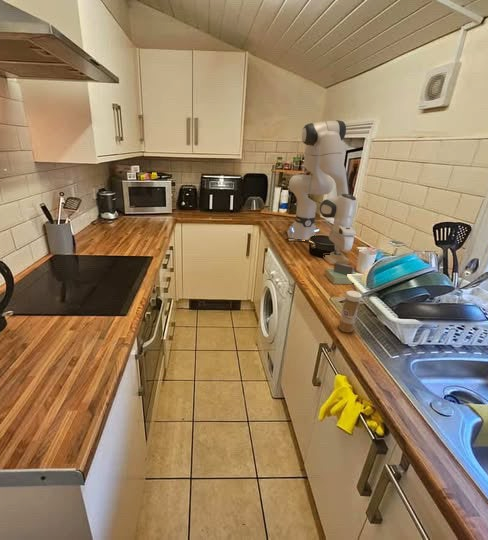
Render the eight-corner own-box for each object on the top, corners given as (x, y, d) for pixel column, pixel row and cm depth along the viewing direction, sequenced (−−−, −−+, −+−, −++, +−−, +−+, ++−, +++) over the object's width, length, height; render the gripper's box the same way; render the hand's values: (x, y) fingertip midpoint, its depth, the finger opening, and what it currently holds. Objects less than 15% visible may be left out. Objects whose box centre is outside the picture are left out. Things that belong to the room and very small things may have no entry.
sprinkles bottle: (336, 329, 99) (344, 293, 94) (341, 323, 103) (349, 288, 97) (350, 334, 97) (359, 298, 91) (354, 329, 100) (364, 293, 95)
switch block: (322, 257, 162) (324, 250, 161) (340, 257, 163) (342, 250, 161) (330, 264, 153) (331, 257, 152) (349, 264, 154) (350, 257, 152)
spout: (333, 271, 137) (335, 262, 135) (335, 270, 139) (336, 261, 137) (350, 276, 132) (353, 267, 131) (352, 275, 134) (354, 266, 132)
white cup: (374, 275, 142) (379, 255, 138) (356, 273, 143) (361, 253, 139) (369, 268, 149) (374, 250, 145) (352, 267, 150) (357, 248, 146)
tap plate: (323, 273, 142) (324, 267, 141) (348, 273, 143) (349, 267, 141) (333, 285, 131) (335, 278, 129) (361, 285, 131) (362, 278, 130)
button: (331, 255, 159) (332, 252, 158) (338, 255, 159) (339, 252, 158) (334, 257, 155) (335, 254, 155) (341, 257, 156) (342, 254, 155)
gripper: (328, 222, 160) (323, 246, 166) (344, 233, 141) (339, 260, 147) (339, 222, 161) (334, 247, 166) (357, 233, 142) (351, 260, 147)
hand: (337, 253), depth 156 cm, fingers closed, pressing on button
